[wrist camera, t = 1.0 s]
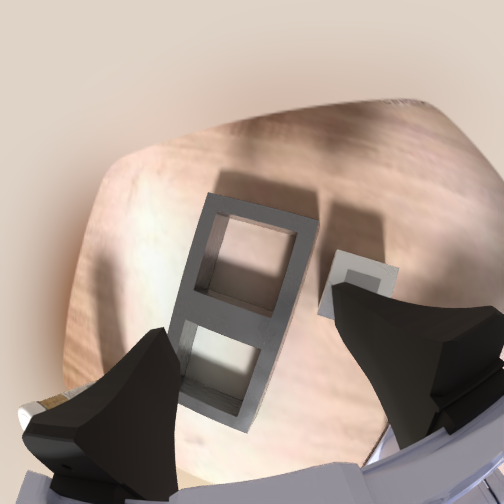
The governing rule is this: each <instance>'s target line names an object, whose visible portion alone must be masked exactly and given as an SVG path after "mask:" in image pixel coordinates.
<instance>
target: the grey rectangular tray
mask: <svg viewBox="0 0 504 504" xmlns="http://www.w3.org/2000/svg"><path fill="white" fill-rule="evenodd" d="M229 218H232V219H235V220H239V221H243V222H246V223H250V224H254V225H257V226H261V227H265V228H268V229H272V230H276V231H279V232H283V233H286V234H290V235H293V236H297V237H296V241H295V244H294V248H293V251H292V254H291V258H290V261H289V264H288V268H287V271H286V274H285V277H284V281H283V284H282V287H281V290H280V293H279V297H278V300H277V303H276V306H275V309H274V312H273V311H270V310H267V309H264V308H261V307H258V306H255V305H252V304H249V303H246V302H244V301H241V300H238V299H235V298H232V297H229V296H227V295H224V294H221V293H218V292H216V291H213V290H210V289H208V288H209V284H210V281H211V277H212V274H213V271H214V267H215V264H216V260H217V257H218V254H219V250H220V247H221V244H222V240H223V237H224V234H225V231H226V227H227V224H228V221H229ZM319 229H320V223H319V220H316V219H312V218H308V217H305V216H301V215H297V214H294V213H290V212H286V211H282V210H278V209H275V208H271V207H267V206H263V205H259V204H255V203H251V202H247V201H243V200H239V199H234V198H230V197H226V196H222V195H217V194H213V193H209V192H208V194H207V197H206V200H205V203H204V206H203V209H202V213H201V216H200V219H199V222H198V225H197V229H196V232H195V235H194V238H193V242H192V245H191V248H190V252H189V255H188V259H187V262H186V266H185V269H184V273H183V276H182V280H181V284H180V287H179V291H178V295H177V299H176V302H175V306H174V310H173V314H172V318H171V322H170V326H169V330H168V334H167V336H168V338H169V340H170V342H171V344H172V347H173V349H174V351H175V353H176V355H177V357H178V359H179V361H180V368H181V383H180V390H179V398H178V403H179V404H181V405H183V406H185V407H187V408H189V409H191V410H193V411H195V412H197V413H200V414H202V415H204V416H206V417H208V418H210V419H213V420H215V421H217V422H220V423H222V424H224V425H227V426H229V427H232V428H234V429H237V430H239V431H242V432H244V433H248V431H249V429H250V427H251V426H252V424H253V422H254V420H255V418H256V416H257V413H258V411H259V408H260V406H261V403H262V401H263V398H264V396H265V393H266V390H267V388H268V385H269V382H270V380H271V377H272V374H273V372H274V369H275V366H276V363H277V361H278V358H279V355H280V352H281V349H282V347H283V344H284V341H285V338H286V335H287V332H288V329H289V326H290V323H291V320H292V317H293V314H294V311H295V308H296V305H297V302H298V299H299V296H300V293H301V290H302V286H303V283H304V280H305V277H306V273H307V270H308V267H309V263H310V260H311V257H312V253H313V250H314V246H315V243H316V240H317V236H318V232H319ZM198 325H199V326H202V327H204V328H207V329H209V330H211V331H214V332H216V333H219V334H221V335H224V336H227V337H229V338H232V339H234V340H237V341H240V342H242V343H245V344H248V345H250V346H253V347H256V348H258V349H261V352H260V355H259V357H258V360H257V363H256V366H255V369H254V372H253V375H252V378H251V380H250V383H249V386H248V389H247V392H246V395H245V397H244V400H243V401H240V400H238V399H235V398H233V397H230V396H228V395H226V394H223V393H221V392H219V391H216V390H214V389H212V388H209V387H207V386H205V385H203V384H200V383H198V382H196V381H194V380H192V379H190V378H188V377H186V376H184V375H185V372H186V368H187V364H188V360H189V356H190V353H191V349H192V345H193V341H194V338H195V334H196V330H197V327H198Z"/></svg>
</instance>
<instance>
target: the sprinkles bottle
mask: <svg viewBox="0 0 504 504" xmlns="http://www.w3.org/2000/svg"><path fill="white" fill-rule="evenodd" d="M97 381H98V380H97ZM97 381H93V382H91V383H88V384H85V385H83V386H80V387H77V388H74V389H71V390H69V391H66V392H63V393H61V394H59V395H57V396H54V397H51V398H48V399H45V400H43V401H40V402H39V401H37V402H30V403H27V404H25V405H22V406H20V407H19V410H18V416H19V420H20V423H21V426H22V428H23V430H24V431H25V429H26V427H27V425H28V423H29V421H30V419H31V417H32V416H33V415H35V414H38V413H41V412H43V411H46V410H49V409H51V408H53V407H56V406H58V405H60V404H62V403H64V402H66V401H68V400H69V399H71V398H73V397H75V396H76V395H78V394H79V393H81V392H82V391H84V390H85V389H87V388H88V387H90V386H91V385H93V384H94V383H95V382H97Z"/></svg>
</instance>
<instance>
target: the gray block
mask: <svg viewBox="0 0 504 504" xmlns="http://www.w3.org/2000/svg"><path fill="white" fill-rule="evenodd" d="M398 271H399V268H397V267H394V266H391V265H388V264H384V263H381V262H378V261H375V260H371V259H368V258H365V257H362V256H358V255H355V254H352V253H348V252H345V251H342V250H338V249H337V250H336V252H335V254H334V257H333V261H332V264H331V268H330V271H329V274H328V278H327V281H326V284H325V287H324V291H323V294H322V297H321V300H320V303H319V306H318V312H317V315H320V316H323V317H326V318H330V319H333V320H335V318H334V308H333V298H332V289H331V285H335V284H338V283H341V282H347V283H351V284H353V285H356V286H359V287H361V288H364V289H366V290H369V291H372V292H374V293H377V294H380V295H383V296H386V297H389V298H391V296H392V292H393V289H394V285H395V282H396V278H397V275H398Z"/></svg>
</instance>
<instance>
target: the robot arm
mask: <svg viewBox="0 0 504 504" xmlns="http://www.w3.org/2000/svg"><path fill="white" fill-rule="evenodd" d="M331 289H332V298H333V308H334V318H335V326H336V328H337V330H338V332H339V334H340V336H341V338H342V340H343V342H344V344H345V345H346V347H347V348H348V350H349V351H350V353H351V354H352V356H353V357H354V359H355V360H356V361H357V363H358V364H359V366H360V367H361V369H362V370H363V372H364V373H365V375H366V376H367V378H368V379H369V381H370V383H371V384H372V386H373V388H374V390H375V392H376V394H377V396H378V398H379V400H380V402H381V405H382V407H383V409H384V411H385V413H386V416H387V418H388V420H389V423H390V425H389V427H388V429H387V431H386V432H385V434H384V436H383V438H382V439H381V441H380V443H379V444H378V446H377V448H376V449H375V451H374V452H373V454H372V455H371V457H370V459H369V460H368V462H367V463H366V465H365V466H364V467H361V468H360V467H359V466H358V465H357V464H355V463H347V462H333V463H329V464H324V465H319V466H313V467H310V468H306V469H302V470H298V471H294V472H290V473H286V474H281V475H277V476H272V477H267V478H261V479H256V480H249V481H243V482H235V483H227V484H218V485H207V486H197V487H191V488H184V489H181V490H178V483H177V475H176V464H175V441H174V431H175V420H176V412H177V405H178V398H179V390H180V383H181V368H180V361H179V359H178V357H177V355H176V353H175V351H174V349H173V347H172V344H171V342H170V340H169V338H168V336H167V333H166V331H165V329H164V327H162V328H157V329H152V330H150V331H149V332H148V333H146V334H145V335H144V336H143V337H142V338H141V339H140V341H139V342H138V343H137V344H136V345H135V346H134V347H133V348H132V349H131V350H130V351H129V352H128V353H127V354H126V355H125V356H124V357H123V358H122V359H121V360H120V361H119V362H118V363H117V364H116V365H115V366H114V367H113V368H112V369H111V370H110V371H109V372H108V373H107V374H105V375H104V376H103V377H102V378H101V379H99V380H98V381H97V382H95V383H94V384H93V385H91V386H90V387H88V388H87V389H85V390H84V391H82V392H81V393H79V394H78V395H76V396H75V397H73V398H71V399H69V400H68V401H66V402H64V403H62V404H60V405H58V406H56V407H53V408H51V409H49V410H46V411H43V412H41V413H38V414H35V415H33V416H32V417H31V419H30V421H29V423H28V425H27V427H26V429H25V431H24V433H23V435H22V439H23V442H24V444H25V446H26V447H27V449H28V450H29V451H30V452H31V453H32V454H33V455H34V456H35V457H36V458H37V459H38V460H40V461H41V462H42V463H43V464H44V465H45V466H46V467H48V468H49V469H50V470H51V471H52V472H53V473H54V475H53V478H50V477H48V476H46V475H43V474H39V473H36V472H33V471H30V470H28V471H27V473H26V475H25V478H24V481H23V484H22V486H21V489H20V492H19V495H18V498H17V501H16V504H504V475H503V474H502V473H501V471H500V470H499V469H498V467H499V466H500V465H501V464H502V463H503V462H504V369H503V367H504V361H503V360H502V359H500V358H499V357H500V354H501V351H502V348H503V345H504V314H502V313H501V312H500V311H498V310H497V309H496V308H494V307H493V306H483V307H474V308H439V307H429V306H422V305H417V304H412V303H407V302H403V301H399V300H396V299H392V298H389V297H386V296H383V295H380V294H377V293H374V292H372V291H369V290H366V289H364V288H361V287H359V286H356V285H353V284H351V283H347V282H341V283H338V284H335V285H331ZM487 487H489V488H487Z"/></svg>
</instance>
